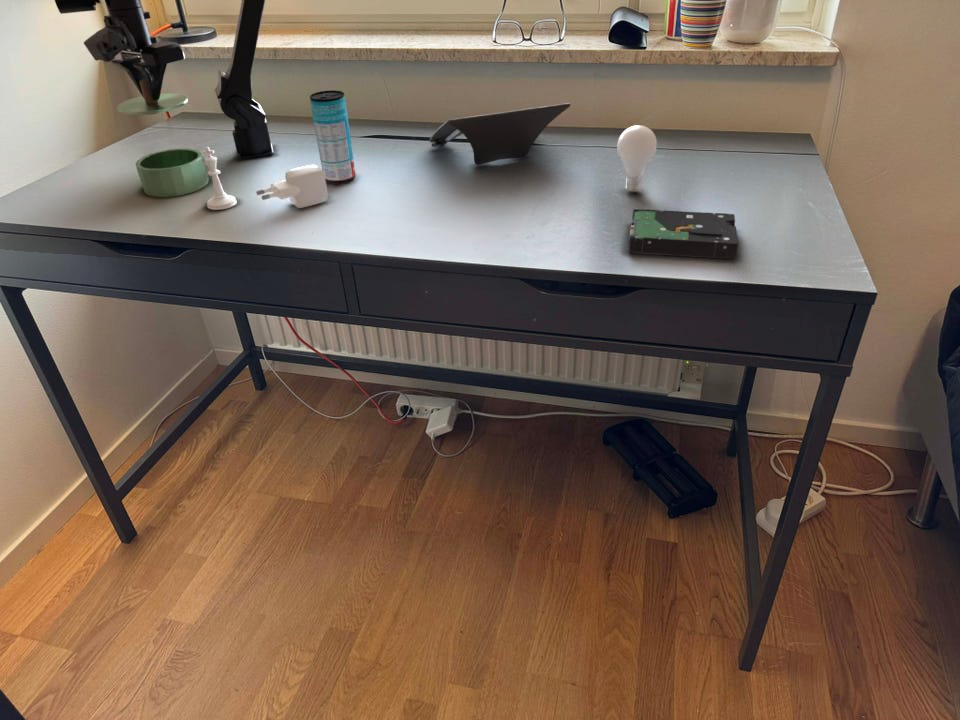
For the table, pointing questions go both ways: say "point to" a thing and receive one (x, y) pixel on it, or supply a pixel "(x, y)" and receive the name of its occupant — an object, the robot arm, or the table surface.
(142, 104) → the tin lid
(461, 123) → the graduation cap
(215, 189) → the chess piece
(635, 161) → the lightbulb
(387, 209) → the table surface
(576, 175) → the table surface
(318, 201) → the power adapter
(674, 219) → the disk drive
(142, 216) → the table surface
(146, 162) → the tin
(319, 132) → the beverage can
